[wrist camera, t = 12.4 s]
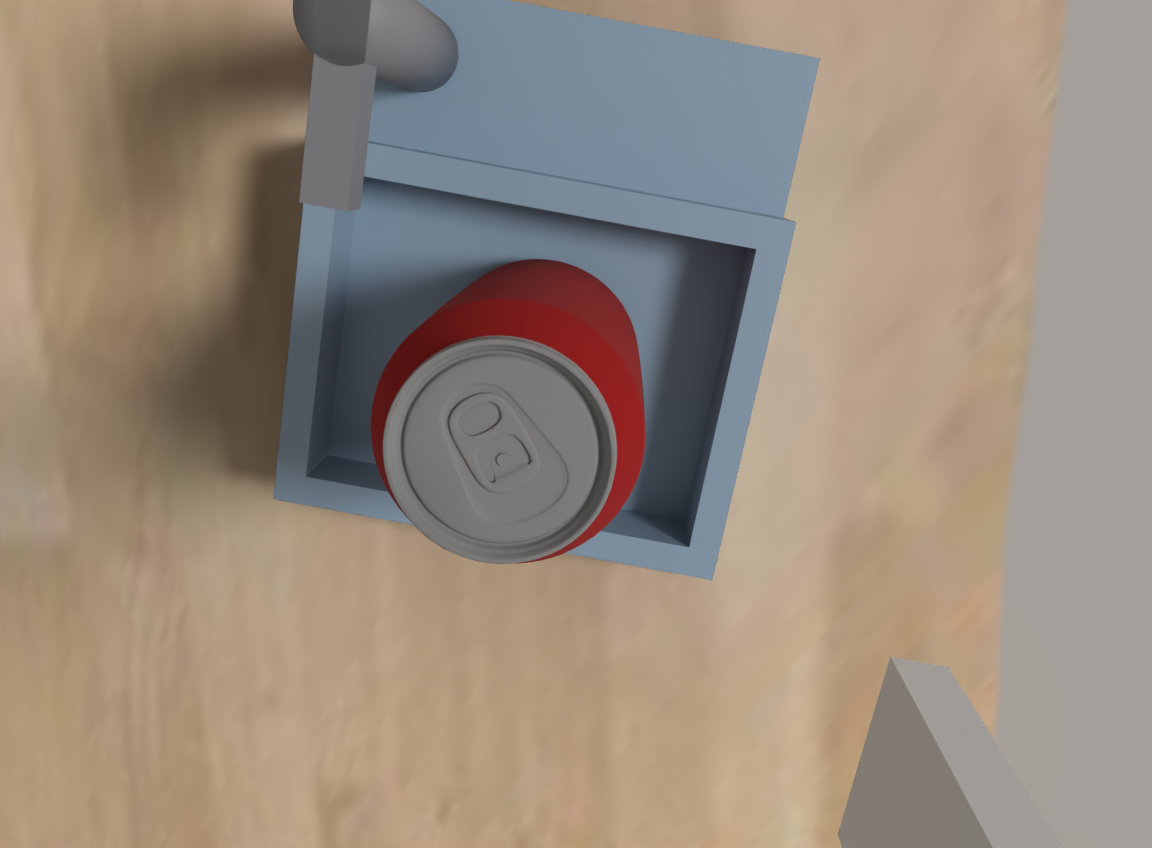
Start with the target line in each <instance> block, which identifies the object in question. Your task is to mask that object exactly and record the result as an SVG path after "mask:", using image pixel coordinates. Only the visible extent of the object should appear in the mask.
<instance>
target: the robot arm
mask: <svg viewBox="0 0 1152 848" xmlns="http://www.w3.org/2000/svg"><path fill="white" fill-rule="evenodd" d="M838 836H839V839H840V842H841V845H842V848H1063V846H1062V845H1061V843H1060V842H1059V840H1058V839H1057V837H1056V835H1055V834H1054V832H1053V831H1052V829H1051V827H1050V826H1049V824H1048V823H1047V821H1046V820H1045V818H1044V817H1043V815H1042V813H1041V812H1040V810H1039V809H1038V807H1037V806H1036V804H1035V803H1034V801H1033V799H1032V798H1031V796H1030V795H1029V793H1028V792H1027V790H1026V788H1025V787H1024V785H1023V784H1022V782H1021V780H1020V779H1019V777H1018V776H1017V774H1016V773H1015V771H1014V770H1013V768H1012V766H1011V765H1010V763H1009V762H1008V760H1007V759H1006V757H1005V756H1004V754H1003V752H1002V751H1001V749H1000V748H999V746H998V744H997V743H996V741H995V740H994V738H993V737H992V735H991V733H990V732H989V730H988V729H987V727H986V726H985V724H984V722H983V721H982V719H981V718H980V716H979V715H978V713H977V711H976V710H975V708H974V707H973V705H972V704H971V702H970V701H969V699H968V697H967V696H966V694H965V693H964V691H963V690H962V688H961V686H960V685H959V683H958V682H957V680H956V679H955V677H954V675H953V674H952V672H951V671H950V669H949V668H948V667H944V666H938V665H933V664H927V663H922V662H917V661H911V660H906V659H900V658H895V657H890V660H889V663H888V667H887V670H886V674H885V677H884V680H883V684H882V687H881V690H880V694H879V697H878V701H877V704H876V707H875V711H874V714H873V717H872V721H871V724H870V728H869V731H868V734H867V738H866V741H865V744H864V748H863V751H862V754H861V758H860V761H859V765H858V768H857V771H856V775H855V778H854V781H853V785H852V788H851V792H850V795H849V798H848V802H847V805H846V808H845V812H844V815H843V819H842V822H841V825H840V829H839V832H838Z"/></svg>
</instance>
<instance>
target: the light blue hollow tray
mask: <svg viewBox="0 0 1152 848" xmlns="http://www.w3.org/2000/svg"><path fill="white" fill-rule="evenodd" d="M293 15H294V21H295V25H296V28H297V31H298V33H299V35H300V37H301V38H302V40H303V42H304V43H305V44H306V46H307V47H308V48H309V49H310V50H311V51H312V52H313V53H314V58H313V68H312V78H311V88H310V98H309V108H308V118H307V128H306V138H305V148H304V158H303V168H302V178H301V188H300V198H299V203H303V213H302V223H301V232H300V242H299V252H298V262H297V272H296V282H295V291H294V301H293V311H292V321H291V331H290V341H289V350H288V360H287V370H286V380H285V390H284V400H283V409H282V419H281V429H280V439H279V449H278V459H277V468H276V478H275V488H274V498H273V499H275V500H281V501H286V502H292V503H297V504H303V505H308V506H313V507H319V508H324V509H330V510H335V511H340V512H346V513H351V514H357V515H362V516H368V517H373V518H378V519H384V520H389V521H395V522H400V523H405V524H411V525H413V524H412V523H411V521H410V520H409V519H408V518H407V517H406V516H405V515H404V514H403V512H402V511H401V510H400V509H399V508H398V506H397V505H396V503H395V502H394V500H393V499H392V497H391V496H390V494H389V492H388V490H387V489H386V487H385V485H384V482H383V480H382V478H381V476H380V473H379V470H378V467H377V465H376V461H375V457H374V453H373V447H372V440H371V412H372V405H373V400H374V395H375V392H376V388H377V385H378V382H379V380H380V377H381V375H382V373H383V371H384V369H385V367H386V365H387V363H388V361H389V360H390V358H391V357H392V355H393V353H394V352H395V351H396V349H397V348H398V347H399V346H400V344H401V343H402V342H403V341H404V340H405V339H406V338H407V337H408V336H409V335H410V334H411V333H412V332H413V331H414V330H415V329H416V328H418V327H419V326H420V325H421V324H422V323H423V322H424V321H425V320H427V319H428V318H429V317H430V316H431V315H432V314H433V313H434V312H436V311H437V310H438V309H439V308H440V307H442V306H443V305H444V304H445V303H447V302H448V301H449V300H450V299H452V298H453V297H454V296H455V295H457V294H458V293H459V292H461V291H462V290H463V289H465V288H466V287H467V286H469V285H470V284H471V283H473V282H474V281H476V280H477V279H478V278H480V277H481V276H483V275H484V274H486V273H488V272H489V271H491V270H493V269H495V268H497V267H500V266H502V265H505V264H508V263H511V262H515V261H520V260H528V259H548V260H555V261H560V262H564V263H568V264H570V265H573V266H576V267H578V268H580V269H583V270H585V271H586V272H588V273H590V274H592V275H593V276H595V277H596V278H597V279H599V280H600V281H601V282H602V283H604V284H605V285H606V286H607V287H608V288H609V289H610V290H611V291H612V292H613V293H614V294H615V295H616V297H617V298H618V299H619V301H620V302H621V303H622V305H623V306H624V308H625V310H626V312H627V313H628V316H629V318H630V320H631V322H632V325H633V328H634V331H635V334H636V339H637V344H638V350H639V357H640V365H641V373H642V383H643V396H644V410H645V449H644V456H643V461H642V465H641V469H640V473H639V475H638V478H637V481H636V483H635V486H634V488H633V490H632V492H631V494H630V496H629V497H628V499H627V501H626V502H625V504H624V505H623V507H622V508H621V510H620V511H619V512H618V514H617V515H616V516H615V517H614V518H613V519H612V521H611V522H610V523H609V524H608V525H607V526H606V527H604V528H603V529H602V530H601V531H600V532H599V533H597V534H596V535H595V536H594V537H592V538H591V539H589V540H588V541H586V542H585V543H583V544H582V545H580V546H578V547H576V548H574V549H572V550H570V551H568V552H565V553H568V554H573V555H579V556H584V557H590V558H595V559H600V560H606V561H611V562H617V563H622V564H627V565H633V566H638V567H644V568H649V569H655V570H660V571H665V572H671V573H676V574H682V575H687V576H692V577H698V578H703V579H709V580H712V579H713V575H714V571H715V566H716V562H717V558H718V554H719V549H720V545H721V541H722V537H723V532H724V528H725V524H726V519H727V515H728V511H729V507H730V502H731V498H732V494H733V490H734V485H735V481H736V477H737V473H738V468H739V464H740V460H741V456H742V451H743V447H744V443H745V439H746V434H747V430H748V426H749V422H750V417H751V413H752V409H753V404H754V400H755V396H756V392H757V387H758V383H759V379H760V375H761V370H762V366H763V362H764V358H765V353H766V349H767V345H768V341H769V336H770V332H771V328H772V324H773V319H774V315H775V311H776V307H777V302H778V298H779V294H780V290H781V285H782V281H783V277H784V272H785V268H786V264H787V260H788V255H789V251H790V247H791V243H792V238H793V234H794V230H795V226H796V222H794V221H791V220H788V219H785V218H783V217H784V212H785V208H786V204H787V199H788V195H789V191H790V186H791V182H792V178H793V173H794V169H795V165H796V160H797V156H798V152H799V147H800V143H801V139H802V134H803V130H804V126H805V121H806V117H807V113H808V108H809V104H810V100H811V95H812V91H813V87H814V82H815V78H816V74H817V69H818V65H819V61H820V58H815V57H810V56H804V55H799V54H794V53H788V52H783V51H778V50H772V49H767V48H761V47H756V46H751V45H745V44H740V43H734V42H729V41H724V40H718V39H713V38H708V37H702V36H697V35H691V34H686V33H681V32H675V31H670V30H665V29H659V28H654V27H648V26H643V25H638V24H632V23H627V22H622V21H616V20H611V19H605V18H600V17H595V16H589V15H584V14H579V13H573V12H568V11H562V10H557V9H552V8H546V7H541V6H536V5H530V4H525V3H519V2H514V1H509V0H293Z"/></svg>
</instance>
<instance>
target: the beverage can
mask: <svg viewBox="0 0 1152 848" xmlns="http://www.w3.org/2000/svg"><path fill="white" fill-rule="evenodd" d="M371 440H372V447H373V453H374V457H375V461H376V465H377V467H378V470H379V473H380V476H381V478H382V480H383V482H384V485H385V487H386V489H387V490H388V492H389V494H390V496H391V497H392V499H393V500H394V502H395V503H396V505H397V506H398V508H399V509H400V510H401V511H402V512H403V514H404V515H405V516H406V517H407V518H408V519H409V520H410V521H411V523H412V524H413V525H414V526H415V527H416V528H417V529H418V530H419V531H421V532H422V533H423V534H424V535H425V536H426V537H427V538H429V539H430V540H432V541H433V542H434V543H436V544H438V545H439V546H441V547H442V548H444V549H446V550H448V551H450V552H452V553H454V554H457V555H459V556H462V557H465V558H468V559H472V560H475V561H479V562H486V563H495V564H511V563H528V562H534V561H540V560H544V559H548V558H552V557H555V556H558V555H560V554H563V553H565V552H568V551H570V550H572V549H574V548H576V547H578V546H580V545H582V544H583V543H585V542H586V541H588V540H589V539H591V538H592V537H594V536H595V535H596V534H597V533H599V532H600V531H601V530H602V529H603V528H604V527H606V526H607V525H608V524H609V523H610V522H611V521H612V519H613V518H614V517H615V516H616V515H617V514H618V512H619V511H620V510H621V508H622V507H623V505H624V504H625V502H626V501H627V499H628V497H629V496H630V494H631V492H632V490H633V488H634V486H635V483H636V481H637V478H638V475H639V473H640V469H641V465H642V461H643V456H644V449H645V410H644V396H643V383H642V373H641V365H640V357H639V350H638V344H637V339H636V334H635V331H634V328H633V325H632V322H631V320H630V318H629V316H628V313H627V312H626V310H625V308H624V306H623V305H622V303H621V302H620V301H619V299H618V298H617V297H616V295H615V294H614V293H613V292H612V291H611V290H610V289H609V288H608V287H607V286H606V285H605V284H604V283H602V282H601V281H600V280H599V279H597V278H596V277H595V276H593V275H592V274H590V273H588V272H586V271H585V270H583V269H580V268H578V267H576V266H573V265H570V264H568V263H564V262H560V261H555V260H548V259H528V260H520V261H515V262H511V263H508V264H505V265H502V266H500V267H497V268H495V269H493V270H491V271H489V272H488V273H486V274H484V275H483V276H481V277H480V278H478V279H477V280H476V281H474V282H473V283H471V284H470V285H469V286H467V287H466V288H465V289H463V290H462V291H461V292H459V293H458V294H457V295H455V296H454V297H453V298H452V299H450V300H449V301H448V302H447V303H445V304H444V305H443V306H442V307H440V308H439V309H438V310H437V311H436V312H434V313H433V314H432V315H431V316H430V317H429V318H428V319H427V320H425V321H424V322H423V323H422V324H421V325H420V326H419V327H418V328H416V329H415V330H414V331H413V332H412V333H411V334H410V335H409V336H408V337H407V338H406V339H405V340H404V341H403V342H402V343H401V344H400V346H399V347H398V348H397V349H396V351H395V352H394V353H393V355H392V357H391V358H390V360H389V361H388V363H387V365H386V367H385V369H384V371H383V373H382V375H381V377H380V380H379V382H378V385H377V388H376V392H375V395H374V400H373V405H372V412H371Z"/></svg>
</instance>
